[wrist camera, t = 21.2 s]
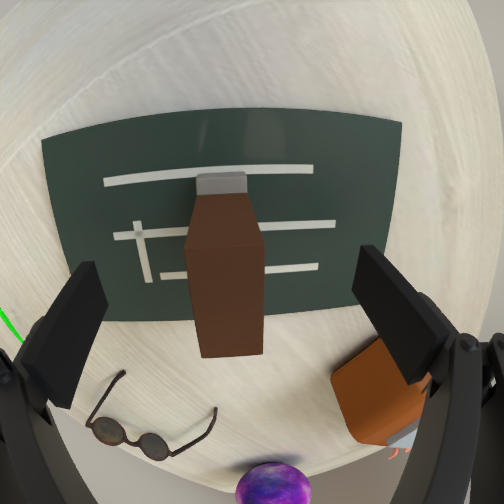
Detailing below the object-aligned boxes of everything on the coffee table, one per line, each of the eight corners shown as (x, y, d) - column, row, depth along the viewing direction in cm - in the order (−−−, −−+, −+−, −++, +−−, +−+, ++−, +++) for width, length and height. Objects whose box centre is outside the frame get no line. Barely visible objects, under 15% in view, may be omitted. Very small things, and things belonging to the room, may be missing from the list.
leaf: (34, 355, 25) (32, 359, 25) (-26, 265, 19) (-30, 268, 18) (38, 354, 25) (36, 358, 25) (-23, 262, 19) (-27, 266, 18)
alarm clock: (324, 370, 30) (354, 453, 20) (381, 326, 27) (429, 406, 17) (396, 405, 39) (419, 454, 29) (433, 377, 37) (461, 424, 27)
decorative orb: (262, 450, 40) (274, 521, 27) (317, 454, 45) (333, 512, 32) (219, 470, 45) (224, 529, 32) (272, 475, 50) (282, 525, 37)
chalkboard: (393, 121, 17) (402, 122, 16) (366, 295, 25) (371, 303, 24) (49, 137, 15) (40, 140, 14) (92, 312, 23) (88, 321, 21)
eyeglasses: (89, 409, 31) (82, 436, 26) (116, 365, 26) (107, 401, 22) (174, 441, 36) (173, 467, 32) (224, 408, 31) (227, 441, 27)
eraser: (197, 173, 17) (179, 222, 9) (244, 171, 17) (265, 218, 10) (206, 280, 21) (204, 371, 13) (246, 278, 21) (262, 367, 13)
